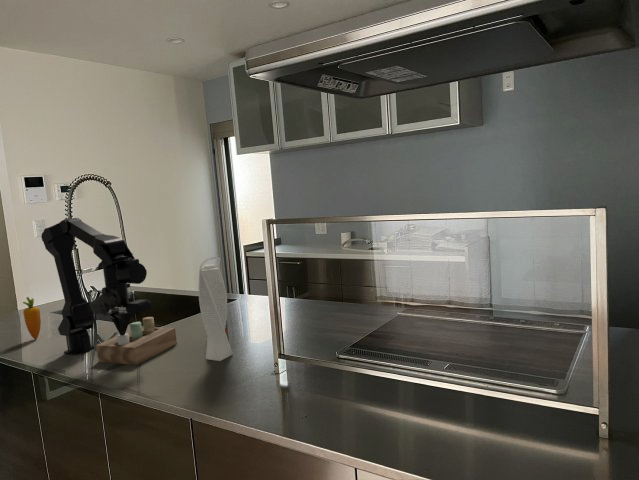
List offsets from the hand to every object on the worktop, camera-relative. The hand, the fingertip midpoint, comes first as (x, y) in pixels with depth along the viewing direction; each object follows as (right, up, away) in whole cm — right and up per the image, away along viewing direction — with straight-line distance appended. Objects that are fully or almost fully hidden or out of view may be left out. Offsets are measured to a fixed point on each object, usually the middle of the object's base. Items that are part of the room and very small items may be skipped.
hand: (122, 334), depth 146 cm
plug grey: (+1, -6, +1) cm, 6 cm away
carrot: (-42, -7, +29) cm, 52 cm away
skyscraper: (+29, -6, -4) cm, 30 cm away
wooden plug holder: (+3, -6, +6) cm, 9 cm away
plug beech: (+5, -3, +11) cm, 12 cm away
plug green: (+2, -3, +6) cm, 7 cm away
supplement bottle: (+27, -5, +7) cm, 28 cm away
